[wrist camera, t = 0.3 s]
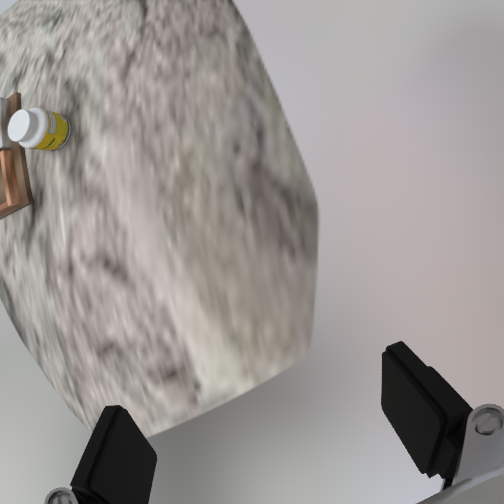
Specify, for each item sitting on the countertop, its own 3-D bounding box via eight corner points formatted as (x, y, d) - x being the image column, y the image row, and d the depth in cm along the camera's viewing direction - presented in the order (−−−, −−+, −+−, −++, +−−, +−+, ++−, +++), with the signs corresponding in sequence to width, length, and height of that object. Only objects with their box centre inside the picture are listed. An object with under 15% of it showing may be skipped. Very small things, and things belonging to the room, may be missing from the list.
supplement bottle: (43, 154, 33) (2, 151, 24) (44, 120, 32) (5, 110, 23) (71, 147, 34) (32, 141, 24) (72, 111, 33) (35, 97, 23)
